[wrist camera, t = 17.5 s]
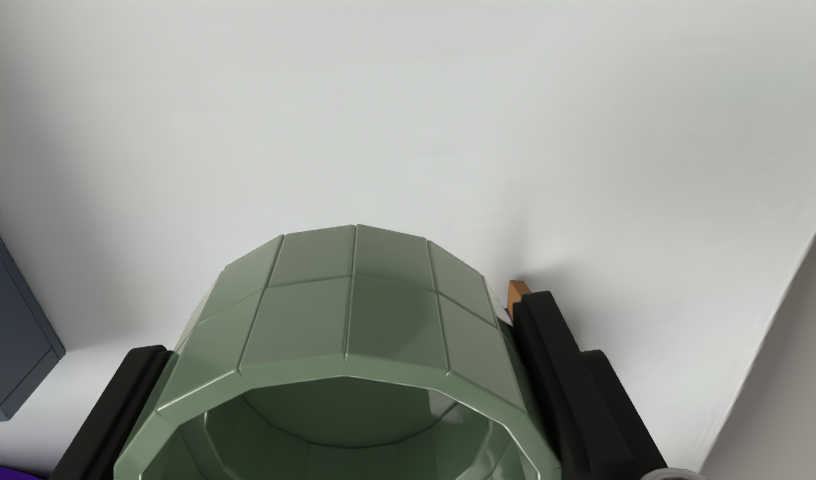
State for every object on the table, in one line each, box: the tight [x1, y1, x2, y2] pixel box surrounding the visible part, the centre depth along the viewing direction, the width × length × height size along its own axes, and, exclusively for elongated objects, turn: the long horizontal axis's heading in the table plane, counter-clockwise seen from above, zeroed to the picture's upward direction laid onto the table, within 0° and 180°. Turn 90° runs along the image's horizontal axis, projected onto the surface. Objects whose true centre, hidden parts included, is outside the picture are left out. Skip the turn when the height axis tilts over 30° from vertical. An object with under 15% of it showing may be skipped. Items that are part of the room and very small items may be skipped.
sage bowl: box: [114, 224, 562, 480], centre depth 10 cm, size 7×7×4 cm
